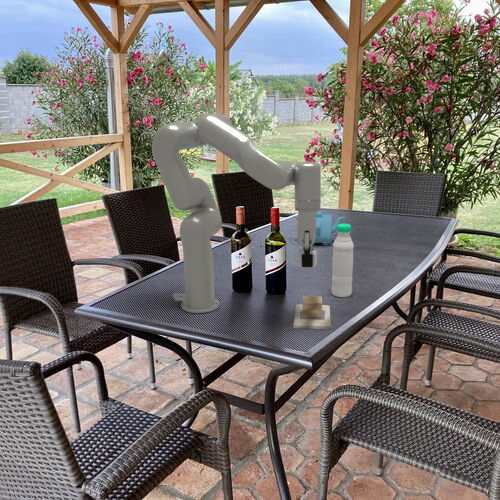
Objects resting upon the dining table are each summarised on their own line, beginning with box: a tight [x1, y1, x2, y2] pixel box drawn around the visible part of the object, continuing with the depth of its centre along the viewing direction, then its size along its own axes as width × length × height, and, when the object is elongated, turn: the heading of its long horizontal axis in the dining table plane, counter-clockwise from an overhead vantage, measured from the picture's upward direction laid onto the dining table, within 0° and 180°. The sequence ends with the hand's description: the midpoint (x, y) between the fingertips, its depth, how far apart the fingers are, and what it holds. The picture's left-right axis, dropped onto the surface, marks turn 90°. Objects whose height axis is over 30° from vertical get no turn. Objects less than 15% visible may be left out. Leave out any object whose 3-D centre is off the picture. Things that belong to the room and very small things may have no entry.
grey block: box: [297, 249, 318, 269], centre depth 157 cm, size 5×5×4 cm
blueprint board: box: [293, 303, 332, 331], centre depth 162 cm, size 11×17×1 cm, turn 173°
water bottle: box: [331, 223, 355, 298], centre depth 179 cm, size 7×7×25 cm
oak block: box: [302, 295, 323, 319], centre depth 162 cm, size 6×6×5 cm
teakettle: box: [292, 210, 346, 247], centre depth 250 cm, size 19×19×15 cm
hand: (307, 263), depth 157 cm, fingers closed on grey block, 5 cm apart
